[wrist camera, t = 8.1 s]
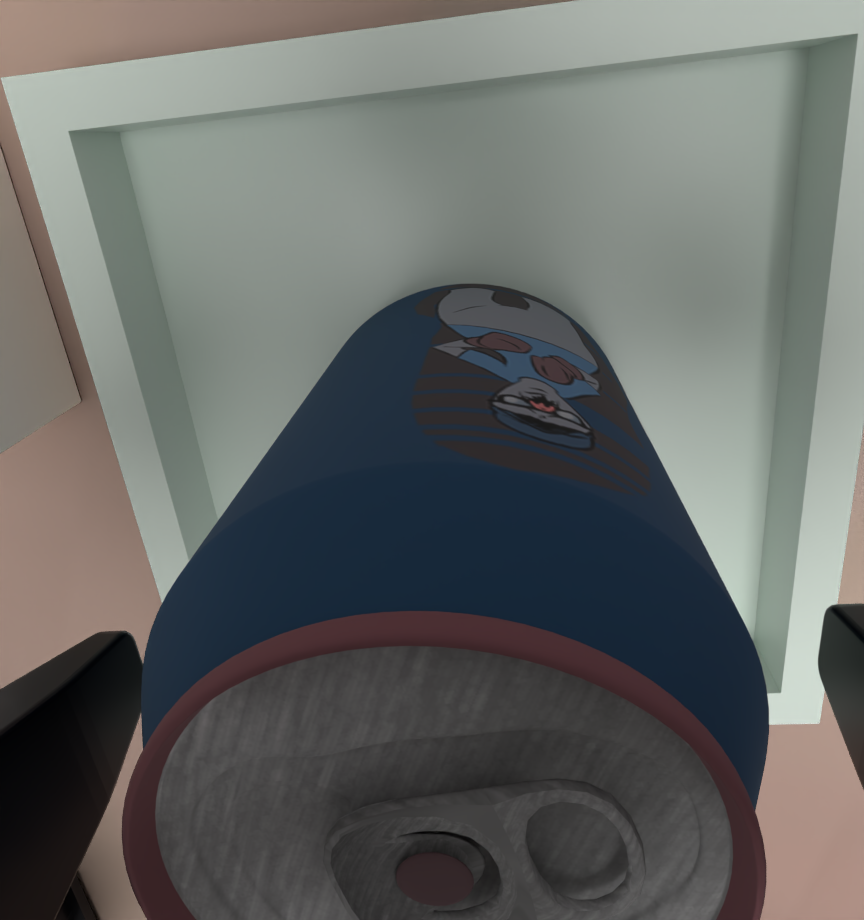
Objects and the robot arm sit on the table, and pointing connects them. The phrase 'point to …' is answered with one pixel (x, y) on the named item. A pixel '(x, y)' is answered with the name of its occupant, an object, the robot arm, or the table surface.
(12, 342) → the pale square open box
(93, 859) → the table surface
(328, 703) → the soda can
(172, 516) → the tray
